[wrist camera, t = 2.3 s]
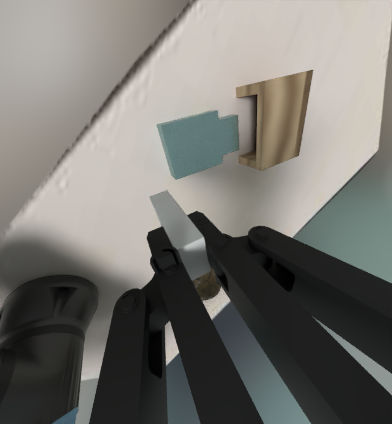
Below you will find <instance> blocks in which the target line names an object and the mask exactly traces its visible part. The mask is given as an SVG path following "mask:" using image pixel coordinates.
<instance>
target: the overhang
mask: <svg viewBox="0 0 392 424" xmlns="http://www.w3.org/2000/svg"><path fill="white" fill-rule="evenodd" d="M312 74H313V70H310V71H306V72H301V73H297V74H293V75H288V76H284V77H280V78H275V79H271V80H267V81H262V82H258V83H254V84H250V85H245V86H241V87H237V88H236V97H243V96H250V95H256V94H258V97H257V147H256V150H255V151H252V152H250V153H247V154H244V155H241V156H239V163H241V164H244V165H247V166H249V167H252V168H255V169H258V170H261V171H262V170H264V169H267V168H269V167H272V166H274V165H277V164H279V163H282V162H284V161H287V160H289V159H292V158H294V157H297V156H299V152H300V146H301V140H302V134H303V128H304V122H305V116H306V110H307V104H308V98H309V92H310V86H311V80H312Z"/></svg>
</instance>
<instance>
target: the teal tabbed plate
mask: <svg viewBox="0 0 392 424" xmlns="http://www.w3.org/2000/svg"><path fill="white" fill-rule="evenodd" d="M157 128H158V131H159V135H160V138H161V142H162V145H163V148H164V152H165V155H166V159H167V162H168V166H169V169H170V173H171V176H172V177H174V178H175V179H176V180H177V179H180V178H182V177H185V176H188V175H191V174H193V173H196V172H199V171H202V170H205V169H207V168H210V167H213V166H216V165H219V164H221V163H223V162H222V155H225V154H228V153H231V152H233V151H236V150H239V134H238V115H228V116H224V117H221V118H218V111H207V112H204V113H200V114H196V115H192V116H188V117H184V118H181V119H177V120H173V121H169V122H165V123H161V124H158V125H157Z"/></svg>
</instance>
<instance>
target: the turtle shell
mask: <svg viewBox="0 0 392 424" xmlns="http://www.w3.org/2000/svg"><path fill="white" fill-rule="evenodd" d="M210 267H211V266H210ZM192 282H193V284H194V286H195V288H196V290H197V292H198V294H199V296H200V298H201V300H202V301H203V300H208V299H211V298H213V297H215V296H216V295H217V294H218V293H219V291H220V288H221V285H220V283H219V286H218V285H217V283H216V278H215V273H214V270H213V269H212V267H211V271H209V272H208V273H206V274H204V275H202V276H200V277H198V278H196V279H195V280H193V281H192Z"/></svg>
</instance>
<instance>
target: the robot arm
mask: <svg viewBox="0 0 392 424" xmlns="http://www.w3.org/2000/svg"><path fill="white" fill-rule="evenodd" d="M150 200H151V202H152V205H153V207H154V210H155V212H156V215H157V217H158V220H159V222H160V224H161V226H162V227H159V228H157V229H155V230H152V231H150V232H148V236H147V240H148V244H149V247H150V250H151V254H152V257H151V259H150V264H151V266H152V268H153V270H154V272H155V274H154V277H153V278H152V280H151V281H150V282H149V283H148V284H147V285H146V286H144V287H143V288H142V289H138V288H136V289H131V290H129V291H127V292H125V293H124V294H123V295H122V296H121V297H120V298H119V299H118V301H117V302H116V305H115V307H114V311H113V315H112V320H111V325H110V329H109V334H108V338H107V343H106V348H105V352H104V357H103V362H102V366H101V371H100V376H99V381H98V385H97V389H96V394H95V399H94V403H93V408H92V413H91V418H90V422H89V424H168V418H167V388H166V387H167V386H166V353H165V325H166V324H167V323H168V322H169V320H170V322H171V326H172V329H173V332H174V336H175V339H176V343H177V346H178V349H179V353H180V356H181V359H182V363H183V366H184V369H185V373H186V376H187V379H188V383H189V386H190V390H191V393H192V396H193V400H194V403H195V406H196V410H197V413H198V416H199V420H200V423H201V424H264V423H263V421H262V419H261V417H260V415H259V413H258V411H257V409H256V407H255V405H254V403H253V401H252V399H251V397H250V395H249V393H248V391H247V389H246V387H245V385H244V383H243V381H242V380H241V378H240V375H239V373H238V371H237V369H236V367H235V366H234V363H233V361H232V359H231V357H230V356H229V354H228V351H227V350H226V348H225V346H224V344H223V342H222V340H221V338H220V336H219V334H218V332H217V330H216V328H215V326H214V324H213V322H212V320H211V318H210V316H209V314H208V312H207V310H206V308H205V306H204V304H203V302H202V300H201V298H200V296H199V294H198V292H197V290H196V288H195V286H194V284H193V282H192V281H193V280H195V279H196V278H198V277H200V276H202V275H204V274H206V273H208V272H209V271H211V267H212V269H213V270H214V273H215V278H216V283H217V285H218V286H219V283H220V285H221V286H222V288H223V289H224V291H225V293H226V294H227V296H228V297H229V299H230V300H231V302H232V303H233V305H234V306H235V308H236V309H237V311H238V312H239V314H240V315H241V317H242V318H243V320H244V322H245V323H246V324H247V326H248V328H249V329H250V331H251V332H252V334H253V335H254V337H255V338H256V340H257V341H258V343H259V344H260V346H261V348H262V349H263V350H264V352H265V354H266V355H267V357H268V358H269V360H270V361H271V363H272V364H273V366H274V367H275V369H276V370H277V372H278V373H279V375H280V376H281V378H282V380H283V381H284V383H285V384H286V386H287V387H288V389H289V390H290V392H291V393H292V395H293V396H294V398H295V399H296V401H297V403H298V404H299V406H300V407H301V409H302V410H303V412H304V413H305V415H306V416H307V418H308V419H309V421H310V422H311V424H392V395H391V394H390V393H389V392H388V391H387V390H386V389H385V388H384V387H383V386H381V384H380V383H378V381H376V379H375V378H374V377H373V376H372V375H371V374H369V373H368V372H367V371H366V370H365V369H364V368H363V367H362V366H361V365H360V364H359V363H358V362H357V361H356V360H355V359H354V358H353V357H352V356H351V355H350V354H349V353H348V352H347V351H346V350H345V349H344V348H343V347H342V346H341V345H340V344H339V343H338V342H337V341H336V340H335V339H334V338H333V337H332V336H331V335H330V334H329V333H328V332H327V331H326V330H325V329H324V328H323V327H322V326H321V325H320V324H319V323H318V322H317V321H316V320H315V319H314V318H316V319H317V320H319V321H320V322H321V323H323V324H324V325H325V326H327V327H328V328H329V329H331V330H332V331H334V332H335V333H336V334H338V335H339V336H341V337H342V338H343V339H345V340H346V341H347V342H349V343H350V344H352V345H353V346H355V347H356V348H357V349H359V350H360V351H361V352H363V353H364V354H365V355H367V356H368V357H370V358H371V359H373V360H374V361H375V362H377V363H378V364H379V365H381V366H382V367H384V368H385V369H386V370H388V371H389V372H390V373H392V283H389V282H387V281H385V280H383V279H381V278H378V277H376V276H374V275H372V274H370V273H368V272H365V271H363V270H361V269H359V268H356V267H354V266H352V265H350V264H348V263H346V262H343V261H341V260H339V259H337V258H335V257H332V256H330V255H328V254H326V253H324V252H321V251H319V250H317V249H315V248H313V247H311V246H308V245H306V244H304V243H302V242H299V241H297V240H295V239H293V238H291V237H289V236H286V235H284V234H282V233H280V232H278V231H275V230H273V229H271V228H269V227H265V226H256V227H253V228H251V229H250V231H249V232H248V235H247V236H242V237H235V238H233V237H231V236H229V235H227V234H222V233H221V232H220V231H219V230H218V229H217V228H216V227H215V225H214V224H213V223H212V222H211V221H210V220H209V219H208V218H207V217H206V216H205V215H204V214H203V213H201V212H198V211H196V212H194V213H191V214H189V215H186V214H185V212H184V211H183V210H182V208H181V207H180V206H179V205H178V203H177V202H176V201H175V200H174V198H173V197H172V196H171V194H170V193H169V192H168V191H167V190H166V191H164V192H161V193H158V194H155V195H153V196H150ZM210 266H211V267H210ZM97 305H98V290H97V288H96V287H95V285H94V284H93V283H91V282H90V281H88V280H86V279H84V278H81V277H76V276H70V275H56V276H48V277H43V278H39V279H36V280H33V281H30V282H28V283H26V284H24V285H22V286H20V287H18V288H17V289H15V290H14V291H13V292H12V293H11V294H10V295H9V296H8V297H7V298H6V300H5V302H4V303H3V305H2V307H1V309H0V424H75V421H76V414H77V413H78V410H79V409H78V402H79V392H80V382H81V371H82V361H83V350H84V340H85V333H86V331H87V329H88V326H89V324H90V322H91V319H92V317H93V314H94V313H95V311H96V309H97ZM312 316H313V317H314V318H313V317H312Z"/></svg>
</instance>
